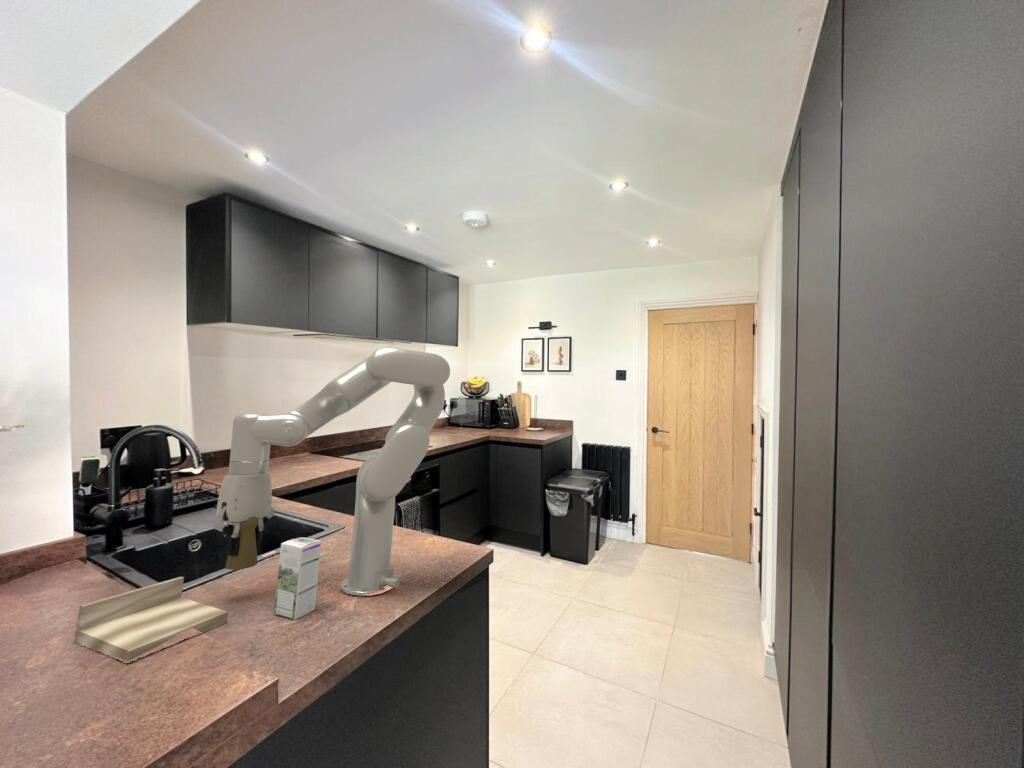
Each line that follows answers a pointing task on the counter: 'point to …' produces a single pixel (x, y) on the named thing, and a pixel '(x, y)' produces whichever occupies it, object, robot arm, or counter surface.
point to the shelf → (142, 619)
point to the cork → (245, 546)
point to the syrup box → (297, 577)
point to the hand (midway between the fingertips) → (242, 551)
